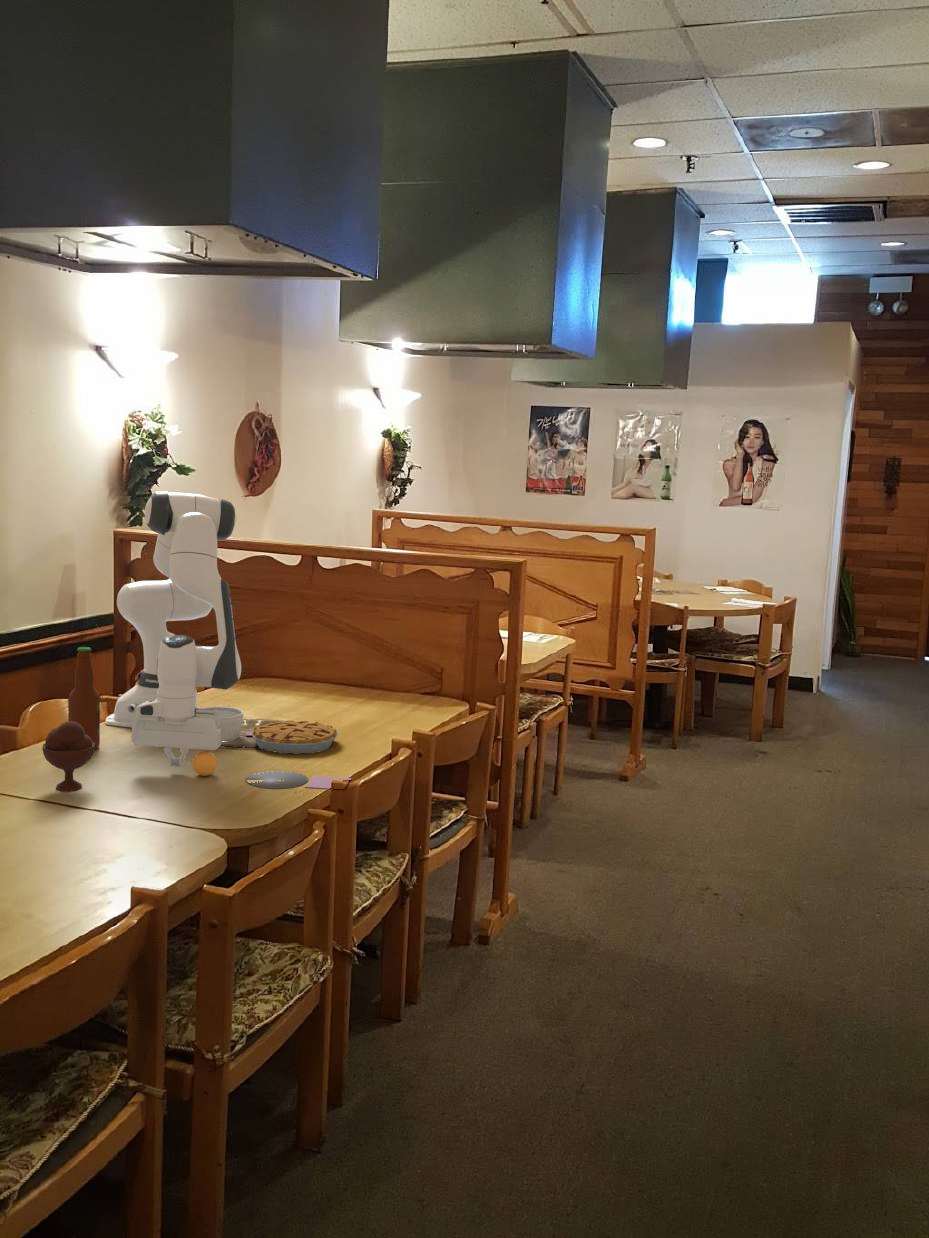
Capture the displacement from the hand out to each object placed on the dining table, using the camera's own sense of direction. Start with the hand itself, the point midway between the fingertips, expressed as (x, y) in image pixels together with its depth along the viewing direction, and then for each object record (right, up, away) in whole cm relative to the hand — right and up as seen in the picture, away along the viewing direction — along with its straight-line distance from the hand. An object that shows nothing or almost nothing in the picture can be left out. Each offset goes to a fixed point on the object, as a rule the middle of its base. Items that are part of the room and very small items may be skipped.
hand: (176, 765), depth 255 cm
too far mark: (+35, -4, -2) cm, 36 cm away
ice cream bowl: (-20, -3, -14) cm, 24 cm away
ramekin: (+2, +3, +34) cm, 34 cm away
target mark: (+23, -3, -1) cm, 24 cm away
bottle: (-27, +2, +18) cm, 33 cm away
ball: (+7, +1, -1) cm, 7 cm away
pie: (+22, +1, +31) cm, 38 cm away
